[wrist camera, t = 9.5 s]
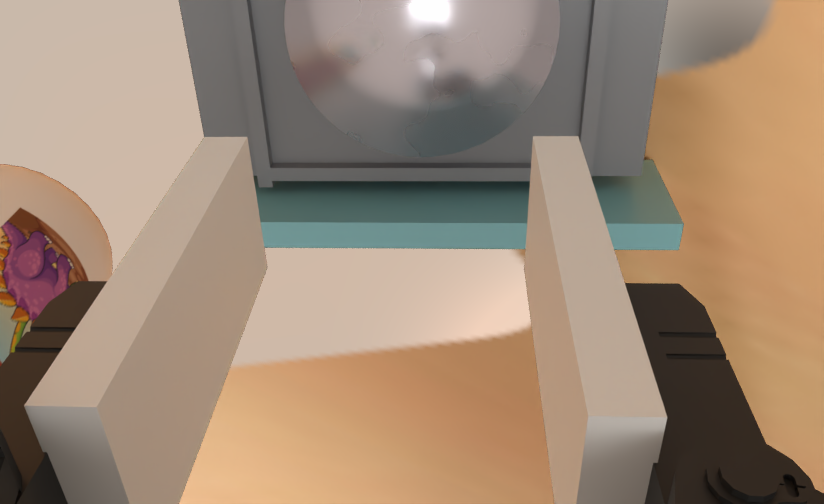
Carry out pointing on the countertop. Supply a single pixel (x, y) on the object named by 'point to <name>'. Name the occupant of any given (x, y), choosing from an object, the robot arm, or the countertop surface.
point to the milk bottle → (43, 248)
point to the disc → (422, 67)
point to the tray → (442, 175)
